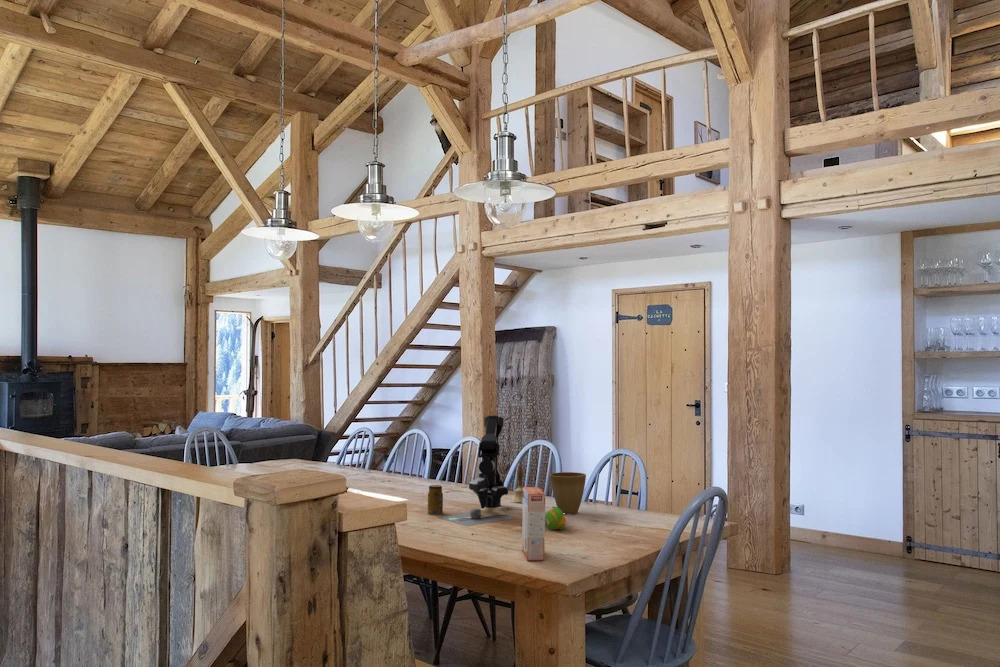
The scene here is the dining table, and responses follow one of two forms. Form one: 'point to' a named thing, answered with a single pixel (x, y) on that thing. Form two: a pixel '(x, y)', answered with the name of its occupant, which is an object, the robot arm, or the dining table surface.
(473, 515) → the dial lever
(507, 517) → the grey board
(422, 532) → the dining table surface
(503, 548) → the dining table surface
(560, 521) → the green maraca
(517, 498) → the hand bell
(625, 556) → the dining table surface
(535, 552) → the cracker box
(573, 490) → the plant pot
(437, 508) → the condiment
